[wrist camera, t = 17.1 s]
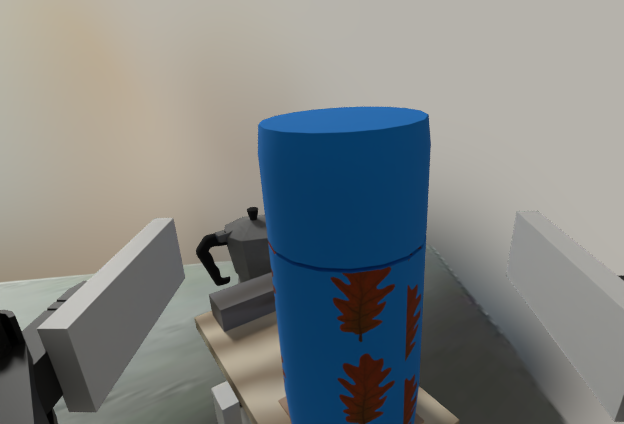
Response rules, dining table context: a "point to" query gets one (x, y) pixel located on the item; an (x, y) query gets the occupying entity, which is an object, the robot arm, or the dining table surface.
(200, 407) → the dining table surface
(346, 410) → the thermos
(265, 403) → the beam
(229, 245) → the coffeepot
